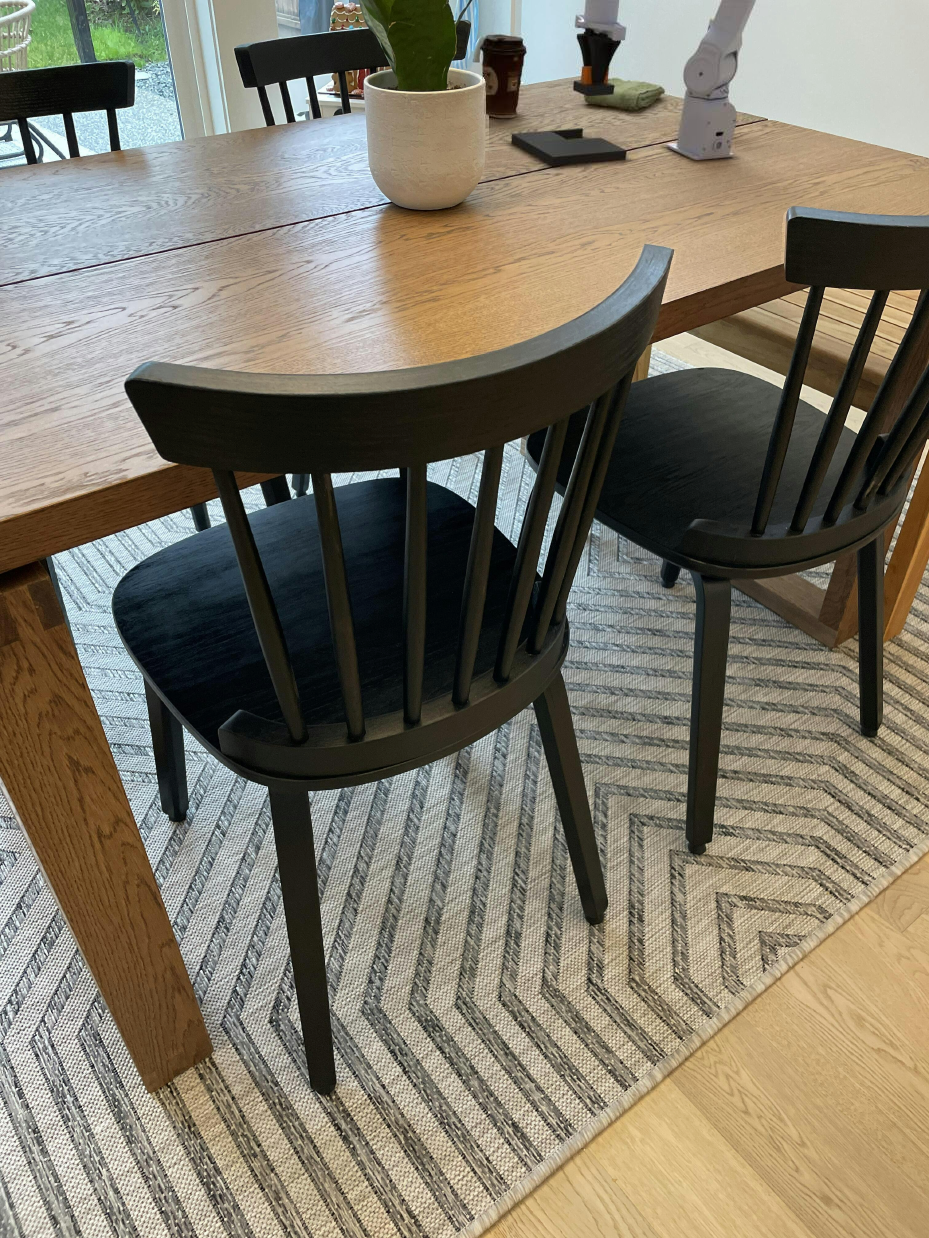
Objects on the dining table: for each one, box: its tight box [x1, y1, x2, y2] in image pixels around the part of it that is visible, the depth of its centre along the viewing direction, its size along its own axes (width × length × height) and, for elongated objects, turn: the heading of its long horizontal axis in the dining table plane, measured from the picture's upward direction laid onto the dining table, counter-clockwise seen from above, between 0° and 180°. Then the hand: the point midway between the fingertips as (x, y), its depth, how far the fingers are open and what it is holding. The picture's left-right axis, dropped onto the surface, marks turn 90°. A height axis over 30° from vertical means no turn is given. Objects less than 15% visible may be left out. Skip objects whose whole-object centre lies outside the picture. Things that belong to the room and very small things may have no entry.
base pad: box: [510, 127, 628, 168], centre depth 159 cm, size 16×14×2 cm
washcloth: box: [583, 77, 666, 111], centre depth 190 cm, size 13×18×3 cm
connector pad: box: [572, 66, 615, 96], centre depth 164 cm, size 5×5×4 cm
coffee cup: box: [479, 33, 527, 119], centre depth 175 cm, size 9×8×13 cm
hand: (594, 81), depth 164 cm, fingers closed on connector pad, 2 cm apart
